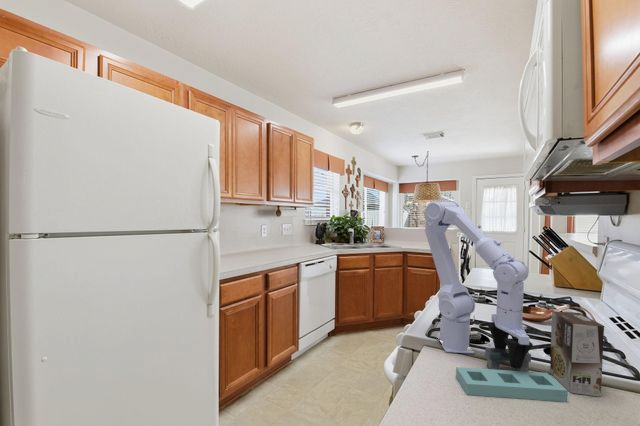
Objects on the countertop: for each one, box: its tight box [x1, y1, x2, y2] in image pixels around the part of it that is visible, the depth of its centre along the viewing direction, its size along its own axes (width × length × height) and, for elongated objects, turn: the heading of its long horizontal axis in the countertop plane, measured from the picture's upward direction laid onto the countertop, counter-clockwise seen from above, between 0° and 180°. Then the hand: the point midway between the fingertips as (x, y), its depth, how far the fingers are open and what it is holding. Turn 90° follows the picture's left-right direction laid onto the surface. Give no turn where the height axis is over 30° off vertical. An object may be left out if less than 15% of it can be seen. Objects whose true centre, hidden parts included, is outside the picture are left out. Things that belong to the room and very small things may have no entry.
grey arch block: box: [484, 347, 532, 372], centre depth 79 cm, size 2×10×5 cm, turn 85°
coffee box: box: [549, 310, 605, 397], centre depth 73 cm, size 9×6×16 cm
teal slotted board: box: [455, 366, 569, 403], centre depth 71 cm, size 21×7×2 cm, turn 85°
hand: (507, 359), depth 79 cm, fingers open, 7 cm apart
